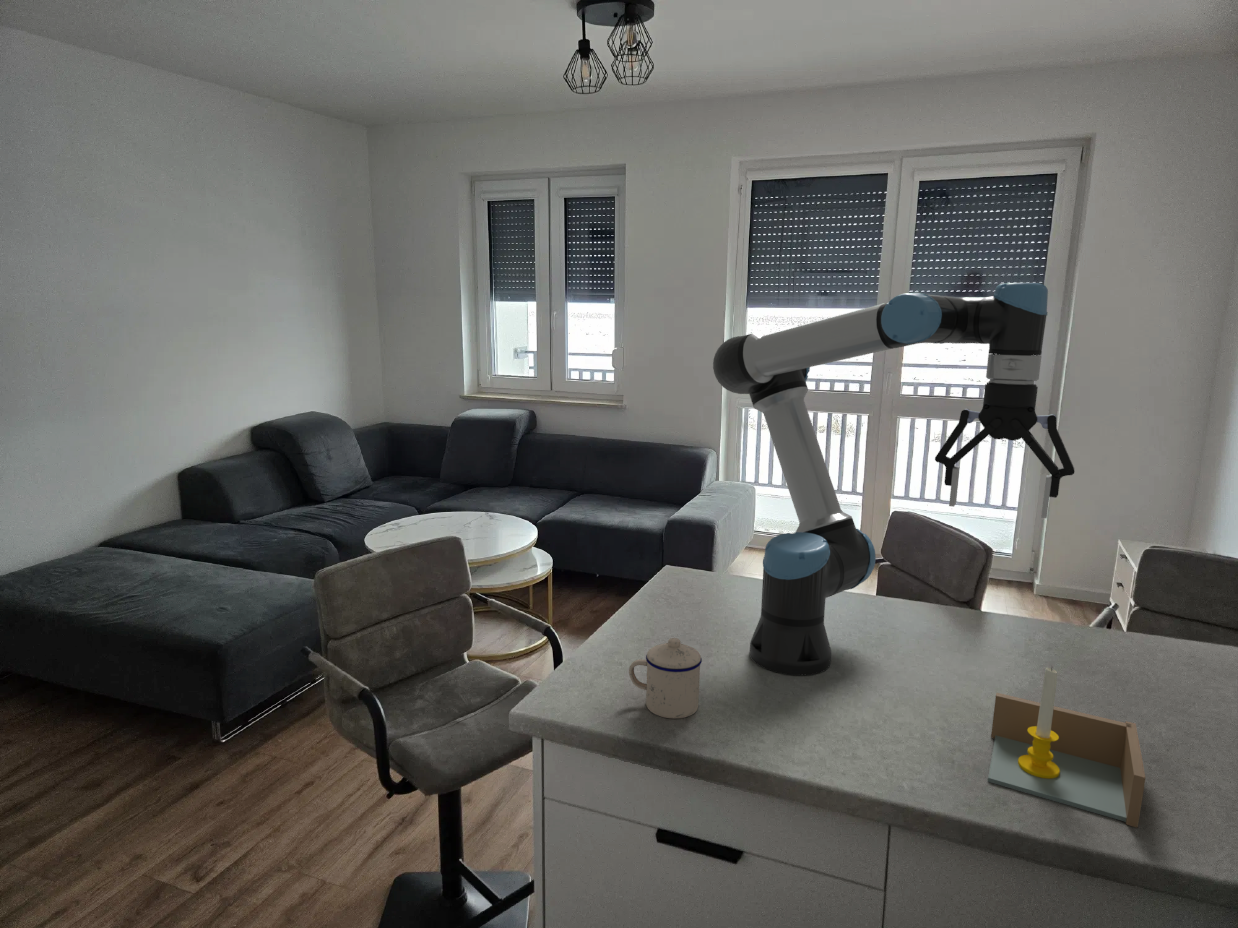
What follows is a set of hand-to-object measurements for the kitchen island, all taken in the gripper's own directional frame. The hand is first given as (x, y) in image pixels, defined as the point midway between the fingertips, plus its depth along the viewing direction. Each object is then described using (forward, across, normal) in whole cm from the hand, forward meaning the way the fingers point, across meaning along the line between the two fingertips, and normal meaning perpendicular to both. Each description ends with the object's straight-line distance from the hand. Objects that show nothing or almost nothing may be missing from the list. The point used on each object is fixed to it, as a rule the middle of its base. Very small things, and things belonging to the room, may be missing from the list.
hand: (996, 510), depth 122 cm
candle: (+32, +10, -21) cm, 40 cm away
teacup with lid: (+33, -44, -33) cm, 64 cm away
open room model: (+33, +12, -21) cm, 41 cm away
